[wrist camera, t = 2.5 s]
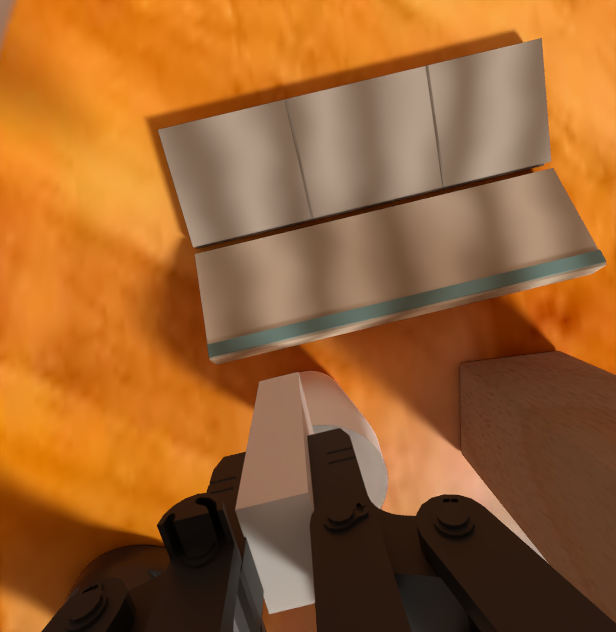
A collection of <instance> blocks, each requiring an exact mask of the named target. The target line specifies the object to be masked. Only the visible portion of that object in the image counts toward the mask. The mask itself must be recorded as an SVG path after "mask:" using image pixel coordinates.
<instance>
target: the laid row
mask: <svg viewBox="0 0 616 632" xmlns="http://www.w3.org/2000/svg"><path fill="white" fill-rule="evenodd" d="M158 132H159V136H160V139H161V142H162V146H163V149H164V152H165V156H166V159H167V162H168V165H169V169H170V172H171V175H172V179H173V182H174V185H175V189H176V192H177V195H178V199H179V202H180V205H181V209H182V212H183V215H184V219H185V222H186V225H187V229H188V232H189V235H190V239H191V242H192V245H193V247H196V249H197V248H202V247H206V246H210V245H214V244H218V243H223V242H227V241H231V240H235V239H239V238H243V237H248V236H252V235H256V234H260V233H264V232H268V231H273V230H277V229H281V228H285V227H289V226H293V225H298V224H302V223H306V222H310V221H314V220H318V219H323V218H327V217H331V216H335V215H339V214H343V213H348V212H352V211H356V210H360V209H364V208H368V207H373V206H377V205H381V204H385V203H389V202H393V201H397V200H402V199H406V198H410V197H414V196H418V195H422V194H427V193H431V192H435V191H439V190H443V189H447V188H452V187H456V186H460V185H464V184H468V183H472V182H477V181H481V180H485V179H489V178H493V177H497V176H502V175H506V174H510V173H514V172H518V171H522V170H527V169H531V168H535V167H539V166H543V165H544V163H547V162H551V153H550V140H549V127H548V114H547V101H546V88H545V75H544V62H543V49H542V38H540V39H536V40H532V41H528V42H524V43H519V44H515V45H511V46H507V47H503V48H498V49H494V50H490V51H486V52H482V53H478V54H473V55H469V56H465V57H461V58H457V59H452V60H448V61H444V62H440V63H436V64H431V65H426V66H423V67H419V68H415V69H410V70H406V71H402V72H398V73H394V74H389V75H385V76H381V77H377V78H373V79H368V80H364V81H360V82H356V83H352V84H348V85H343V86H339V87H335V88H331V89H327V90H322V91H318V92H314V93H310V94H306V95H301V96H297V97H293V98H289V99H285V100H280V101H276V102H272V103H268V104H264V105H259V106H255V107H251V108H247V109H243V110H239V111H234V112H230V113H226V114H222V115H218V116H213V117H209V118H205V119H201V120H197V121H192V122H188V123H184V124H180V125H176V126H171V127H167V128H163V129H159V130H158Z"/></svg>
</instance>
